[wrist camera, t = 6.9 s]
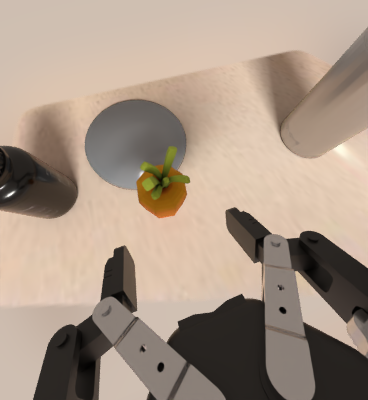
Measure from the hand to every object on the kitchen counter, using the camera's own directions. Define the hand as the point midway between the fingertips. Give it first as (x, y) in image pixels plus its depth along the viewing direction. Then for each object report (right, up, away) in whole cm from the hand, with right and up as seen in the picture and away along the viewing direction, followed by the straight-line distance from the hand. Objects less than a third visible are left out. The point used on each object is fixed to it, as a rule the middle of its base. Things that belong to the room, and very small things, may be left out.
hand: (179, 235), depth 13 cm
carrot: (-2, +1, +13) cm, 13 cm away
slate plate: (-7, +12, +16) cm, 21 cm away
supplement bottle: (-19, +3, +13) cm, 23 cm away
